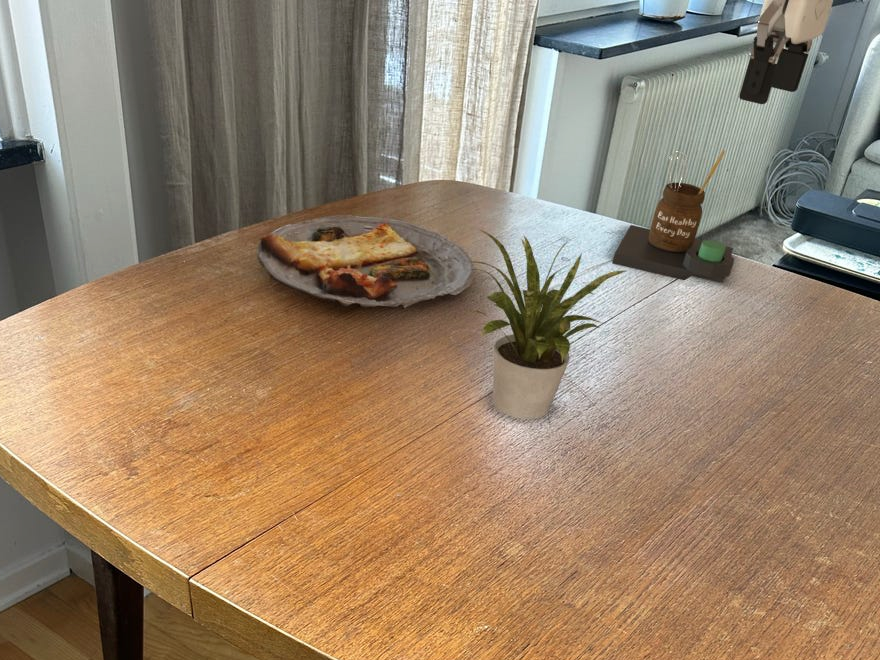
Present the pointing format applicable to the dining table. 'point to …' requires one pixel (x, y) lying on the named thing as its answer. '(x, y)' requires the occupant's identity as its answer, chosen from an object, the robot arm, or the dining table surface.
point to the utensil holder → (678, 214)
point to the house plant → (533, 337)
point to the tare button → (712, 251)
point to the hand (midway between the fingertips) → (768, 95)
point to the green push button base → (669, 258)
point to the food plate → (365, 261)
